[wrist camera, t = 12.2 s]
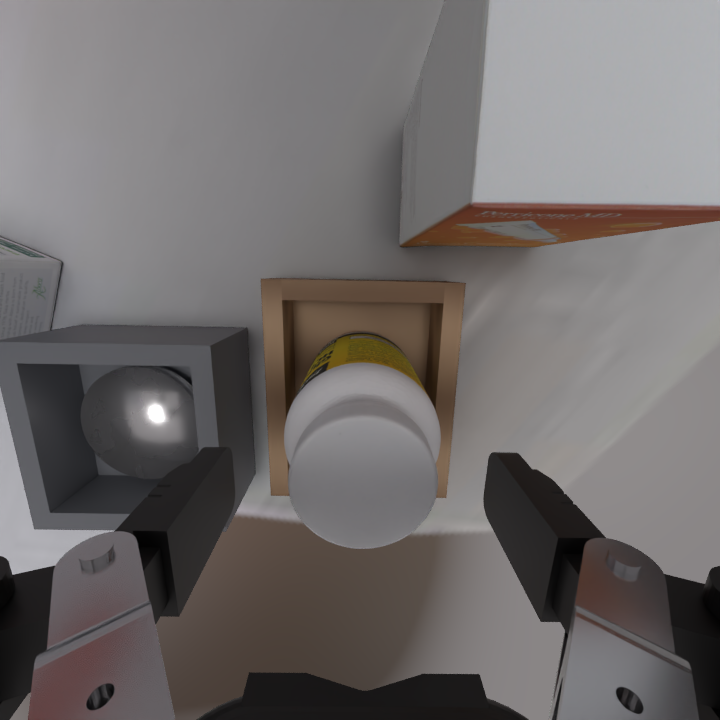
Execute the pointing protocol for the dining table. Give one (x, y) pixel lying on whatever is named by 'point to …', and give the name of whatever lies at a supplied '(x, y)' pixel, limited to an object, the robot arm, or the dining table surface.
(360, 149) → the dining table surface
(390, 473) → the pill bottle
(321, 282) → the wooden tray
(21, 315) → the syrup box
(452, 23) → the small box
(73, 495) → the cradle
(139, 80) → the dining table surface
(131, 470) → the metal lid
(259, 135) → the dining table surface
